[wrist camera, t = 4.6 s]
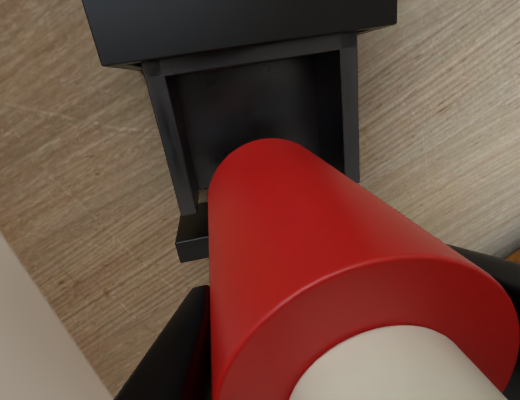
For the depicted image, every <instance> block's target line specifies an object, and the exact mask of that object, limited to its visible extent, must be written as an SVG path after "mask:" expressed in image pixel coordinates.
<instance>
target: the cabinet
mask: <svg viewBox="0 0 520 400" xmlns="http://www.w3.org/2000/svg"><path fill="white" fill-rule="evenodd" d="M82 3H83V6H84V10H85V13H86V16H87V19H88V23H89V26H90V29H91V32H92V36H93V39H94V42H95V45H96V49H97V52H98V55H99V58H100V62H101V65H102V66H104V67H113V68H121V69H129V70H137V71H140V70H143V69H142V65H141V62H147V61H154V60H161V59H168V58H174V57H181V56H188V55H195V54H202V53H209V52H216V51H223V50H230V49H237V48H243V47H250V46H257V45H264V44H271V43H278V42H285V41H292V40H299V39H306V38H313V37H319V36H326V35H333V34H340V33H347V32H354V31H357V35H360V34H364V33H367V32H370V31H374V30H377V29H381V28H384V27H388V26H391V25H395V24H396V23H397V0H82Z"/></svg>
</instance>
